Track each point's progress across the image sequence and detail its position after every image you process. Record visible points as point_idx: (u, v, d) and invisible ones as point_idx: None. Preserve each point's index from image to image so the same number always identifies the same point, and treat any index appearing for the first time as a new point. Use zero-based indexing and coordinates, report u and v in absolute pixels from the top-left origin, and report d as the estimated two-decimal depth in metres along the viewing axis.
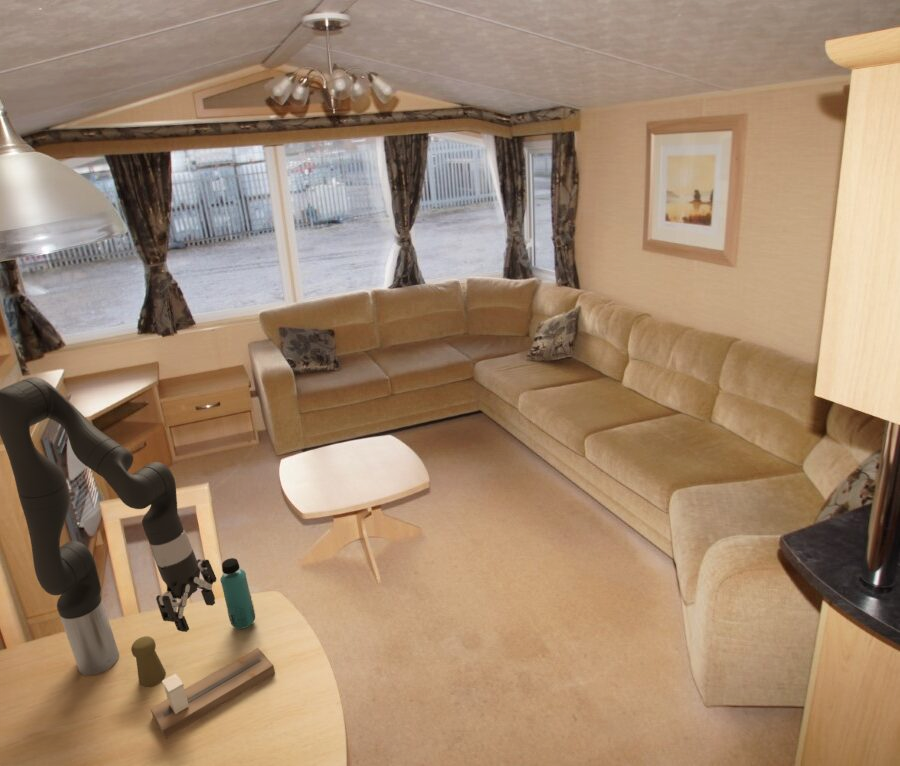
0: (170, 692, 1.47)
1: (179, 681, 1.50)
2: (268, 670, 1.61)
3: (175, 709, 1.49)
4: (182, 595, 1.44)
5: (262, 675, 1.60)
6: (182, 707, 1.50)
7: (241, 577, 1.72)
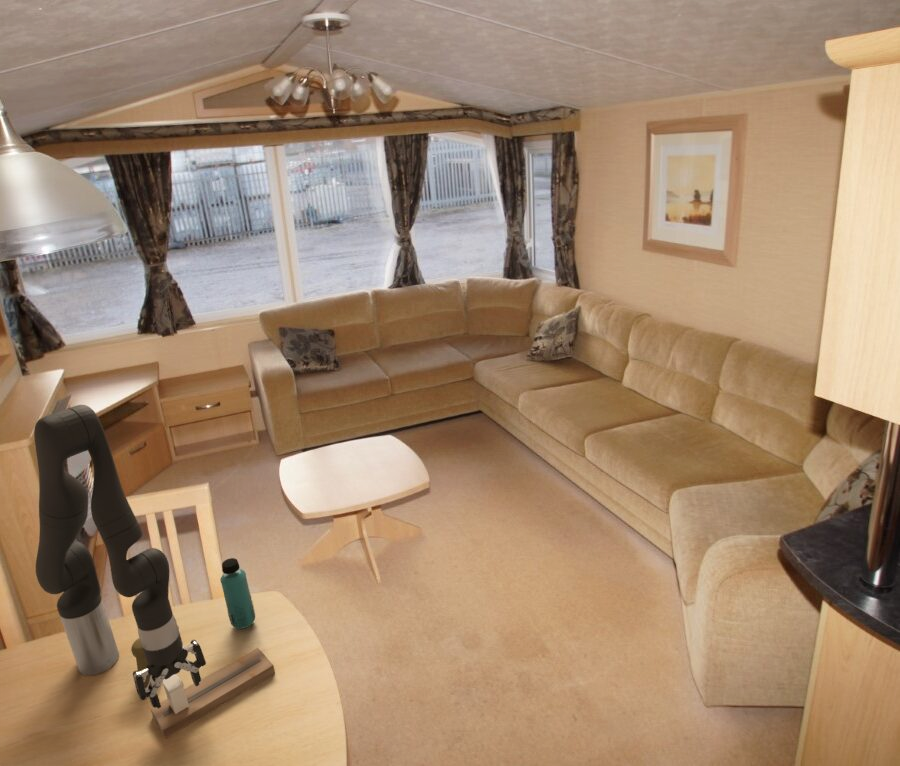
0: (170, 692, 1.47)
1: (179, 681, 1.50)
2: (268, 670, 1.61)
3: (175, 709, 1.49)
4: (158, 676, 1.45)
5: (262, 675, 1.60)
6: (182, 707, 1.50)
7: (241, 577, 1.72)
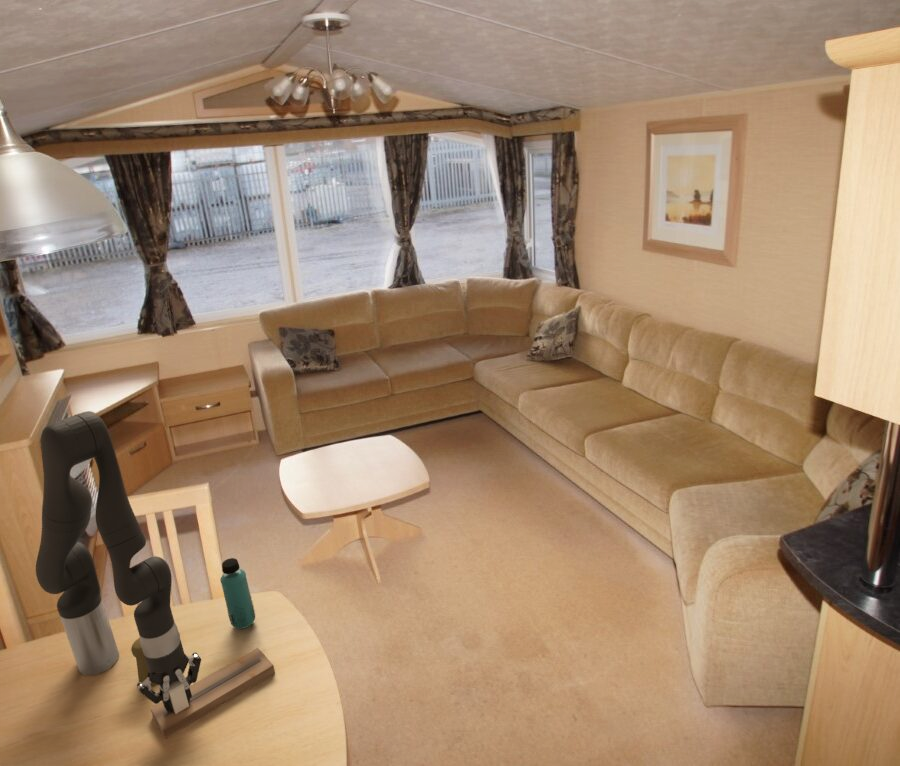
0: (170, 692, 1.47)
1: (179, 681, 1.50)
2: (268, 670, 1.61)
3: (175, 709, 1.49)
4: (163, 684, 1.47)
5: (262, 675, 1.60)
6: (182, 707, 1.50)
7: (241, 577, 1.72)
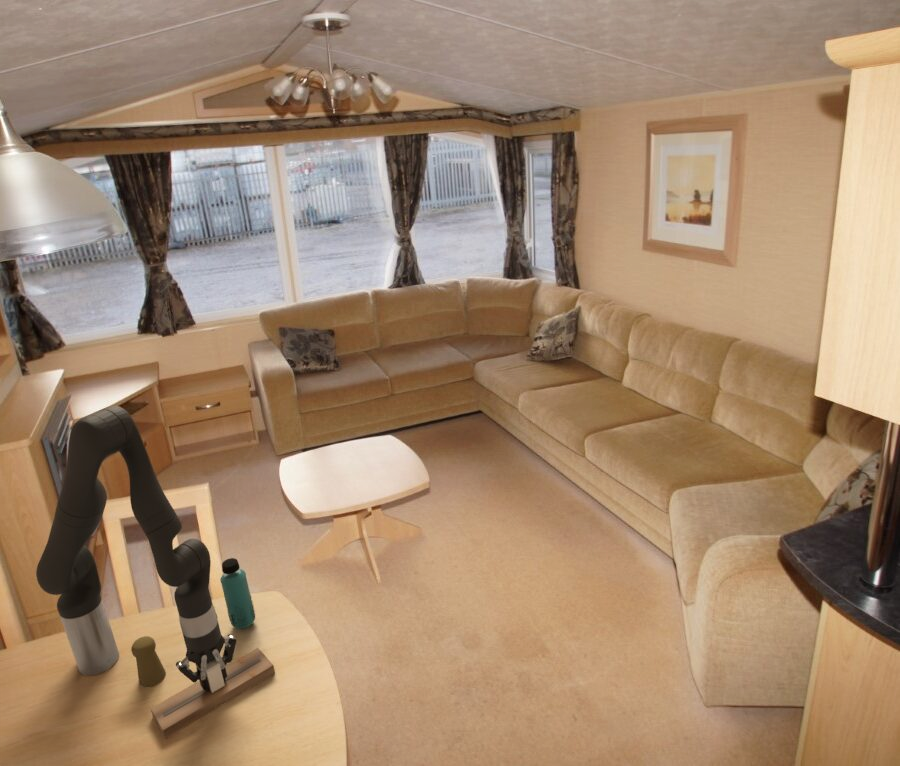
0: (207, 671, 1.52)
1: (216, 661, 1.54)
2: (268, 670, 1.61)
3: (212, 688, 1.54)
4: (200, 663, 1.52)
5: (262, 675, 1.60)
6: (218, 686, 1.55)
7: (241, 577, 1.72)
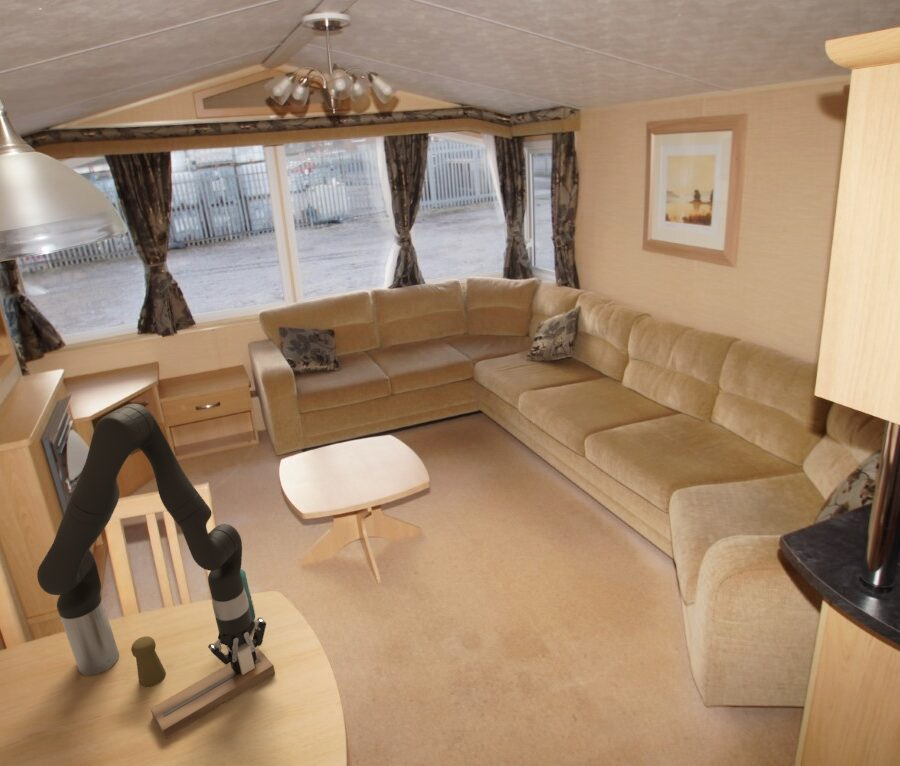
0: (239, 653, 1.57)
1: (246, 644, 1.59)
2: (268, 670, 1.61)
3: (243, 670, 1.59)
4: (232, 645, 1.56)
5: (262, 675, 1.60)
6: (249, 668, 1.60)
7: None
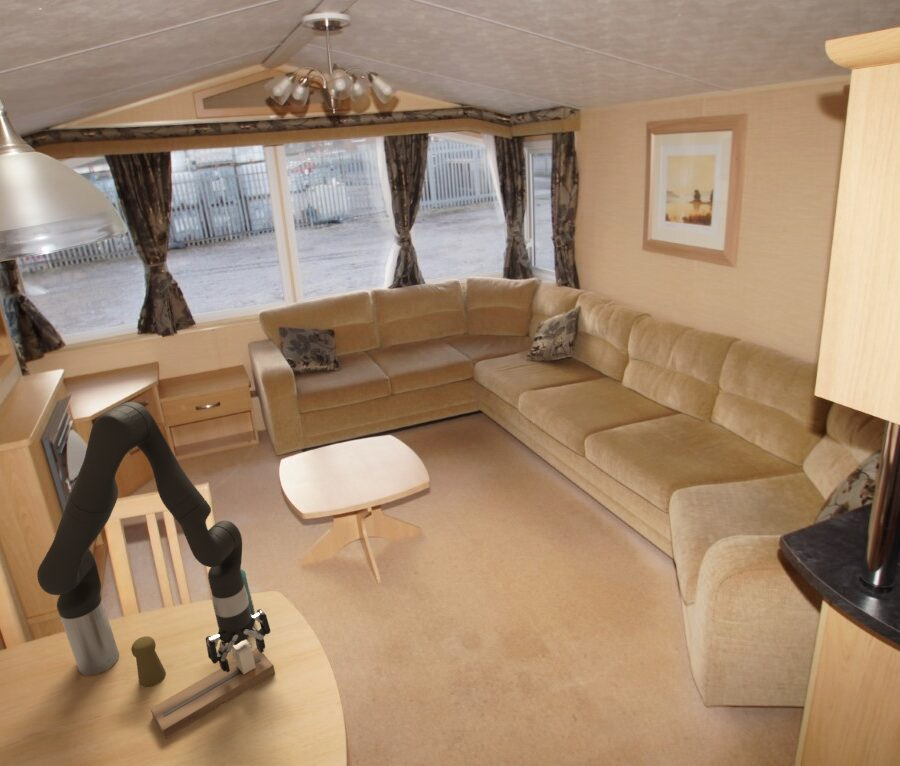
0: (240, 653, 1.57)
1: (247, 643, 1.59)
2: (268, 670, 1.61)
3: (243, 669, 1.59)
4: (229, 642, 1.55)
5: (262, 675, 1.60)
6: (250, 668, 1.60)
7: None
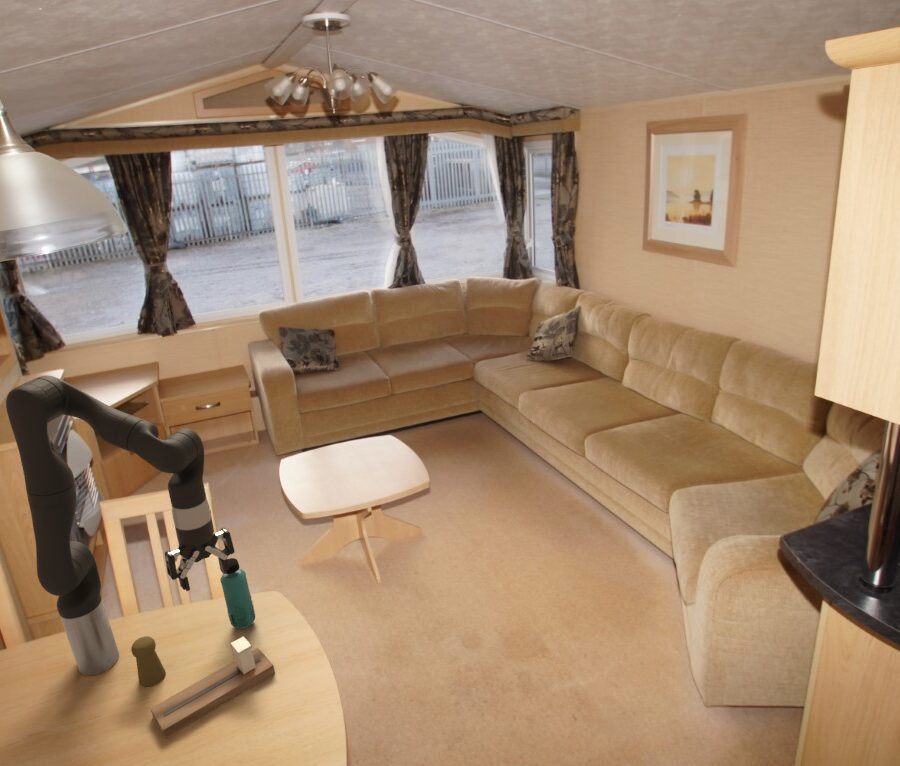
0: (240, 653, 1.57)
1: (247, 643, 1.59)
2: (268, 670, 1.61)
3: (243, 669, 1.59)
4: (189, 558, 1.48)
5: (262, 675, 1.60)
6: (250, 668, 1.60)
7: (241, 577, 1.72)
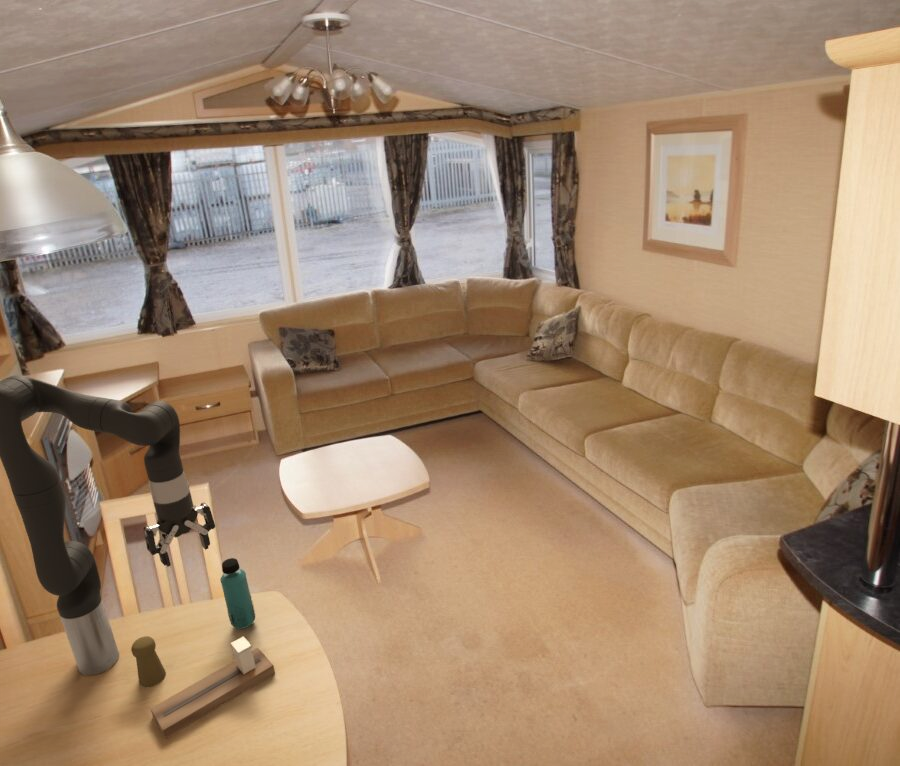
0: (240, 653, 1.57)
1: (247, 643, 1.59)
2: (268, 670, 1.61)
3: (243, 669, 1.59)
4: (168, 533, 1.47)
5: (262, 675, 1.60)
6: (250, 668, 1.60)
7: (241, 577, 1.72)
